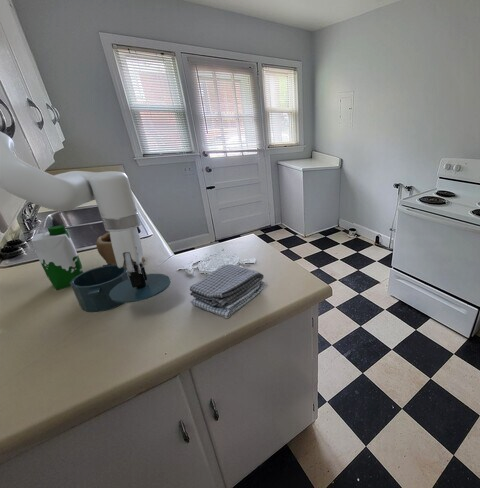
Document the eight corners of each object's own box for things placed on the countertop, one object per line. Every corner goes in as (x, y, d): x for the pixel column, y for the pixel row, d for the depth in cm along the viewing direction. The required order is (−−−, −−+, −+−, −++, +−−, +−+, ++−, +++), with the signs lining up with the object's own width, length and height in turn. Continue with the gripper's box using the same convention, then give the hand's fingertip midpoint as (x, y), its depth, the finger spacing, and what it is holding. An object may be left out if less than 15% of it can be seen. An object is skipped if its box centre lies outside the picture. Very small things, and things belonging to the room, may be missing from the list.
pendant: (217, 248, 120) (216, 245, 120) (265, 262, 107) (264, 259, 107) (171, 267, 103) (171, 264, 103) (222, 287, 90) (221, 284, 90)
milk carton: (87, 283, 93) (65, 229, 85) (51, 292, 88) (24, 235, 80) (87, 273, 100) (66, 222, 92) (53, 281, 94) (28, 228, 86)
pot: (71, 323, 74) (59, 297, 71) (89, 289, 90) (80, 266, 86) (130, 309, 80) (121, 284, 76) (138, 279, 95) (131, 258, 92)
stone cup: (115, 281, 94) (101, 242, 88) (95, 274, 99) (80, 236, 93) (155, 263, 107) (145, 227, 101) (136, 258, 111) (125, 223, 105)
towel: (266, 289, 90) (264, 268, 87) (224, 321, 75) (220, 297, 72) (233, 278, 96) (230, 258, 93) (188, 306, 81) (182, 283, 78)
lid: (105, 310, 68) (96, 288, 65) (115, 283, 80) (109, 263, 77) (170, 296, 74) (165, 275, 72) (171, 272, 86) (167, 254, 84)
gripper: (110, 214, 74) (128, 273, 81) (95, 233, 61) (119, 301, 68) (142, 211, 77) (157, 268, 84) (135, 229, 64) (153, 294, 71)
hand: (140, 282), depth 76 cm, fingers closed on lid, 2 cm apart
